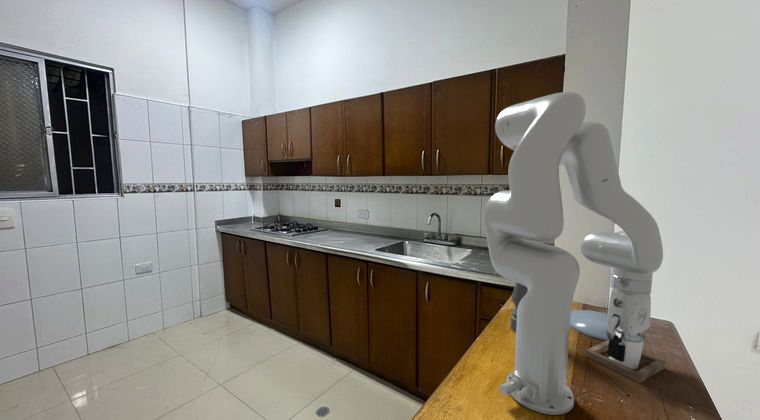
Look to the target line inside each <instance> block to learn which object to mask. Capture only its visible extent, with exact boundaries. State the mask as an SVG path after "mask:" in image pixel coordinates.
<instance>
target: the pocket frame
mask: <svg viewBox="0 0 760 420" xmlns="http://www.w3.org/2000/svg"><path fill="white" fill-rule="evenodd" d="M608 345H609V341H608V340H607V341H605V340H604V341H602V342H600V343H598V344H596V345H594V346H592V347H589V348H587V349H585V351H584V352H585V353H584V355H585V356H584V357H586V358H588V359H590V360H591V361H592V360H593V361H595V362H596V363H599V364H600V365H603V366H604V367H606V368H608V369H611V370H612V371H615V372H616V373H618V374H621V375H622V376H624V377H626V378H629V379H630V380H633V381H634V382H637V383H638V384H642V383H643V382H644V381H646V380H648V379H650V378H651V377H652V376H654V375H656V374H658V373H659V372H661V371H662V370H664V369H666V361H664V360H662V359H660V358H658V357H655V356H653V355H650V354H649V353H646V352H643V351H642V353H641V357H640V361H642V362H644V363H647V365H645V366H644V367H642V368H640V369H638V370H636V369H630V368H628V367H626V366H624V365H622V364H620V363H618V362H616V361H613V360H611V359H609V357H607V356H605V355H603V353H605V352H608Z"/></svg>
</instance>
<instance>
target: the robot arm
mask: <svg viewBox="0 0 760 420" xmlns="http://www.w3.org/2000/svg"><path fill="white" fill-rule="evenodd" d="M586 107H587V106H586V101H585V99H584V98H583V96H581V94H579V93H577V92H572V91H563V92H556V93H552V94H547V95H545V96H540V97H537V98H534V99H531V100H527V101H523V102H519V103H515V104H512V105H510V106H507V107H506V108H504V109H503V110H501V112H500V113H499V114H498V115H497V117H496V121H495V124H494V129H495V134H496V136H497V138H498V139H499V141H500V142H501V143H502V144H503V145H504V146H506V147H507V148H509V149H510V150H512V151H513V153H512V155H511V157H510V160H509V164H508V173H507V174H508V175H507V176H508V184H509V190H501V191H500V190H499V191H498V192H496V193H494V194H493V195H491V196H490V197H489V199H488V201H487V202H486V204H485V207H484V211H483V224H484V225H483V226H484V230H485V231H484V232H485V235H486V241H487V247H488V252H489V257H490V261H491V265H492V266H493V267H492V268H493V269H494V270H495V272H496V273H497V274H498V275H500V276H501V277H503V278H505V279H508V280H510V281H512V282H515V283H516V282H517V283H519V284H521V285H523V286H526V287H527V288H528V291H527V293H526V295H525V296H524V297H523V298H522V299H521V301H520V302H519V305H518V308H517V327H516V332H515V348H514V349H515V353H514V354H515V356H514V370H513V371H511V372H510V373H508V375H507V376H506V381H505V383H502V384H499V387H498V390H499V393H501V395H502V396H505V397H506V396H508V395H510V396H511V397H512V398H513V399H514V400H515V401H516V402H518V403H519V404H520V405H522V406H524V407H525V408H527V409H529V410H531V411H535V412H537V413H541V414H544V415H550V416H551V415H553V416H555V415H556V416H558V415H564V414H567V413H568V412H570V411H571V410H572V409H573V408H574V404H575V397H574V393H573V392H572V390H571V389H570V388H569V386H568V385H567V371H568V358H569V357H568V356H569V343H570V342H569V341H570V328H571V327H570V314H571V311H572V305H573V299H574V296H575V291H576V288H577V285H578V281H579V278H580V265H579V264H580V263H579V261H578V260H577V258H576V257H575V256H574V255H573V254H572V253H571V252H570V251H567V250H566V249H564V248H562V247H559V246H556V245H552V244H548V243H545V242H551V241H555V240H556V239H558V238H559V237H560V236H561V235H562V233H563V230H564V225H565V223H564V222H565V219H564V216H565V215H564V209H563V208H564V207H563V198H562V192H561V191H562V190H561V189H562V188H561V180H560V165H561V166H564V167H565V170H566V173H567V178H568V180H569V183H570V188H571V191H572V195H573V198H574V200H575V201H576V203H578V204H579V205H581V206H582V207H584V208H586V209H588V210H589V211H591V212H593V213H595V214H597V215H598V216H599V215H600V216H601V217H603V218H605V219H607V220H609V221H611V222H612V223H614V224H616V225H617V226H618V227H619V228H620V229H621V230H620V231H616V232H613V231H611V232H610V231H609V232H608V231H593V232H591V233H589V234H588V235H586V236H584V238H583V239H582V241H581V244H580V252H581V254H582V256H583V257H584V258H585V259H586V260H588V261H590V262H592V263H594V264H597V265H601V266H605V267H609V268H611V274H610V283H609V286H610V288H611V292H610V297H609V302H608V308H607V314H608V317H607V326H608V327H607V328H606V334H607V336H608V341H609V345H608V350H607V355H608V357H609V356H610V357H612V358H614V359H616V360H619V361H621V362H623V361H624V357H625V345H623V344H624V341H625V338H626V335H627V336H634V335H636V334H639V335H641V336H642V337H643V336H644V332H645V331H647V330H648V329H650V325H651V312H652V311H651V310H652V309H651V307H652V306H651V305H652V301H651V300H652V299H651V294H652V285H653V274H654V273H655V272H657V271H658V270H659V269H660V268H661V265H662V263H663V259H664V249H663V242H662V236H661V233H660V228H659V225H658V223H657V222H656V219H655V218H654V216H653V215H652V214H651V213H650V212H649V211H648V210H647V209H646V208H645V207H644V206H643V205H642V204H641V203H640V202H639V201H637V200H636V199H635V197H633V196H632V195H631V194H629V193H628V192H627V191H626V190H624V188H623V186H622V183H621V179H620V178H621V177H620V173H619V169H618V164H617V160H616V156H615V152H614V147H613V144H612V143H613V142H612V139H611V135H610V132H609V130H608V128H607V127H606V126H605V125H604V124H602V123H599V122H597V121H596V122H595V121H584V120H585V117H586V110H587V108H586ZM617 327H618V328H621V329H622V331H620V330H617ZM615 332H617V333H620V334H621V337H620V339H619V337H618V336H617V335H616V333H615Z"/></svg>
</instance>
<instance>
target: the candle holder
mask: <svg viewBox="0 0 760 420" xmlns="http://www.w3.org/2000/svg"><path fill="white" fill-rule="evenodd" d="M527 291H528V288H527V287H526V286H523V285H521V284H519V283H517V282H515V285H514V287H513V291H512V294H511V301H512V302H513V304H514V308H513V310H512V311H511V315H510V329H511V330H512V331H514V332H515V333H516V327H517V308H518V305H519V302H520V301H521V299H522V298H523V297H524V296H525V295H526V293H527Z"/></svg>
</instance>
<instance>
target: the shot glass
mask: <svg viewBox="0 0 760 420" xmlns="http://www.w3.org/2000/svg"><path fill="white" fill-rule="evenodd" d="M617 330H620V331H622V329H620V328H617ZM615 333H616V335H617V336H618V337H619V339H620V337H621V334H620V333H617V332H615ZM644 343H645V338H644V337H643V336H641V335H639V334H636V335H634V336H627V335H626V338H625V341H624V344H623V345H625V357H624V361H623V362H621V361H619V360H616V359H614V358H612V357H610V356H608V358H609V359H611V360H613V361H616V362H618V363H620V364H622V365H624V366H626V367H628V368H630V369H632V370H636V369H638V368H639V365H640V361H641V360H640V357H641V353H642V352H643V349H644V348H643V347H644Z"/></svg>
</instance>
